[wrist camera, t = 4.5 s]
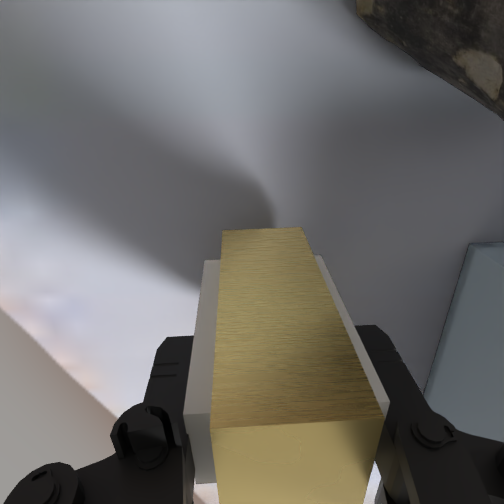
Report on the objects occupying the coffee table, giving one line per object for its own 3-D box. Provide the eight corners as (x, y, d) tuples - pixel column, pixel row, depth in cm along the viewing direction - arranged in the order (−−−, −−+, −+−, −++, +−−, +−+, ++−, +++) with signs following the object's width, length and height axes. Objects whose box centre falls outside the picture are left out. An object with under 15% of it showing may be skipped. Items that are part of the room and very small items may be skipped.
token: (222, 230, 13) (209, 429, 6) (301, 227, 13) (384, 418, 6) (229, 331, 15) (226, 560, 8) (296, 328, 15) (350, 550, 8)
